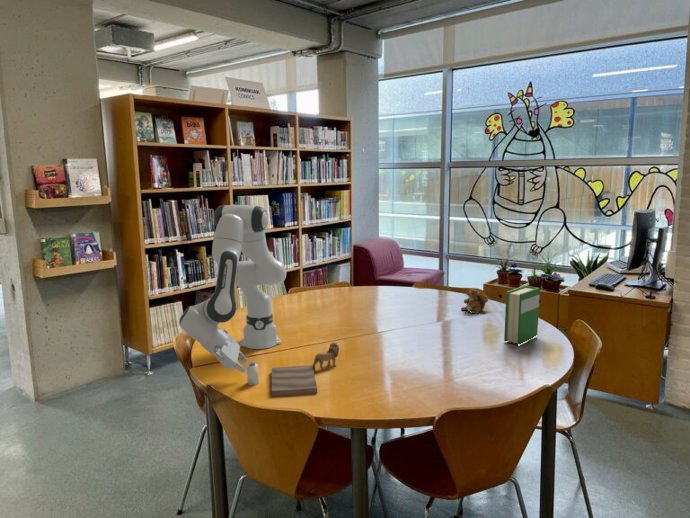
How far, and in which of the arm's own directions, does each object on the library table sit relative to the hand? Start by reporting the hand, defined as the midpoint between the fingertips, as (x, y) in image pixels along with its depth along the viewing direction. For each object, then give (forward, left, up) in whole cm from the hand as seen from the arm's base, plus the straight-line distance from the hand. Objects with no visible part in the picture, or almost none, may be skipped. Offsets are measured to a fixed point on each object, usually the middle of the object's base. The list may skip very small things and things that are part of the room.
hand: (245, 366), depth 186 cm
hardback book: (-29, +125, -7) cm, 128 cm away
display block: (+2, +18, -7) cm, 19 cm away
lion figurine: (-12, +31, -7) cm, 34 cm away
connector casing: (0, +3, -7) cm, 7 cm away
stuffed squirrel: (-81, +124, -7) cm, 148 cm away
